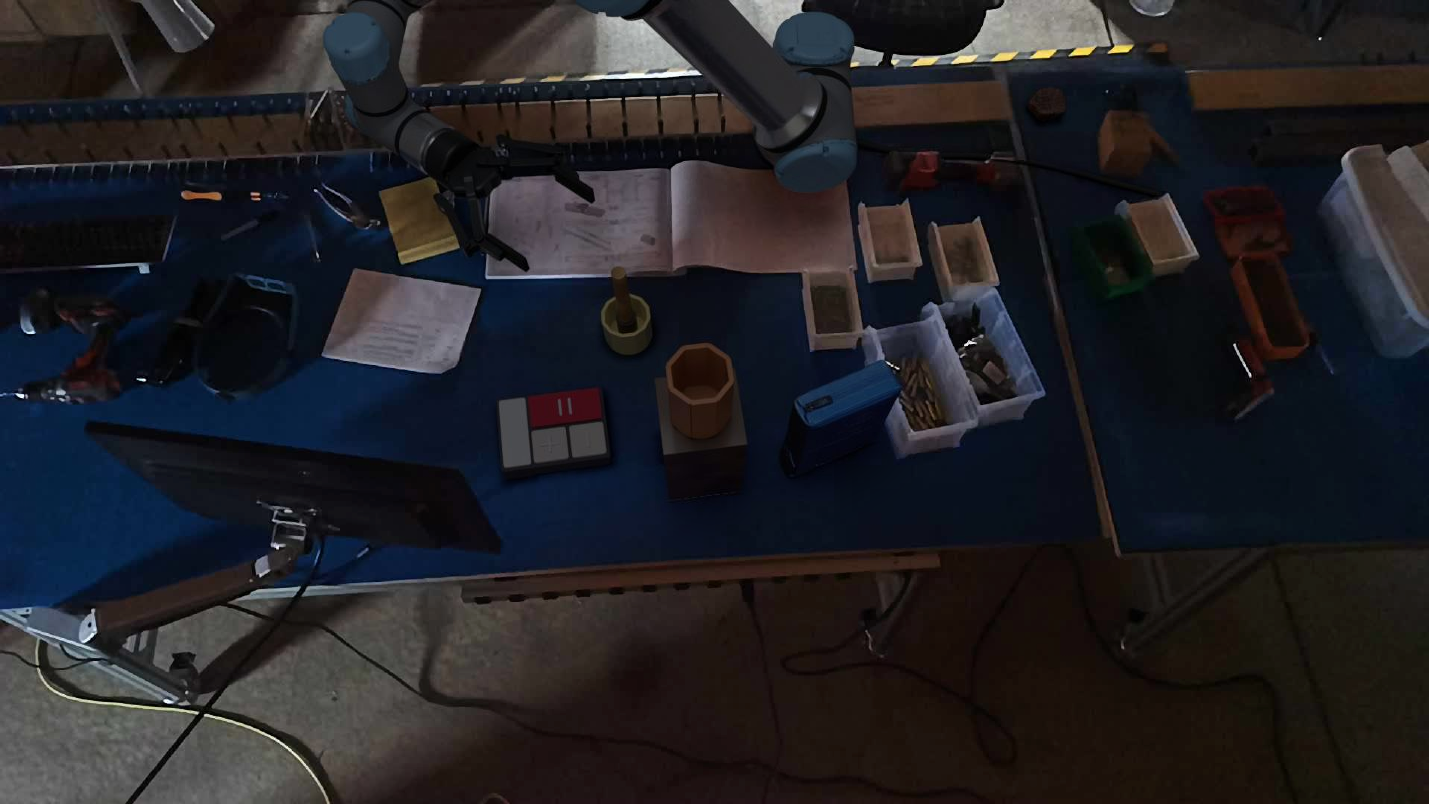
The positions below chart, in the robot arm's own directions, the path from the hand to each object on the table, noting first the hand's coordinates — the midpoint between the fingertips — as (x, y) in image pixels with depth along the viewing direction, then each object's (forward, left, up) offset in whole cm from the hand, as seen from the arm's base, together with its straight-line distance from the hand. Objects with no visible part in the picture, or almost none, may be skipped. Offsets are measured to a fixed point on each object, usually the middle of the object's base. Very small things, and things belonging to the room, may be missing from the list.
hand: (560, 230), depth 112 cm
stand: (-15, +29, -19) cm, 37 cm away
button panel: (+5, +22, -19) cm, 29 cm away
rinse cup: (-7, +7, -19) cm, 21 cm away
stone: (-82, -27, -19) cm, 88 cm away
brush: (-7, +7, -18) cm, 21 cm away
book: (-33, +29, -19) cm, 48 cm away
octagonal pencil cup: (-15, +29, +1) cm, 33 cm away
